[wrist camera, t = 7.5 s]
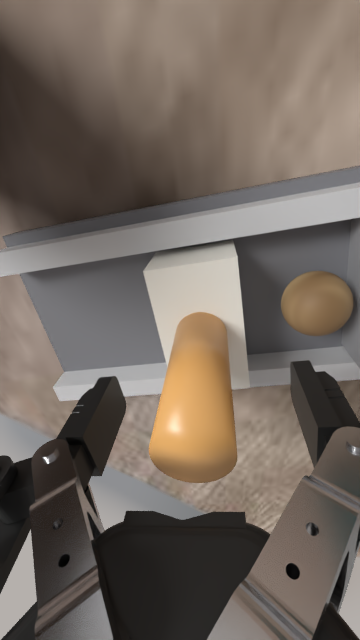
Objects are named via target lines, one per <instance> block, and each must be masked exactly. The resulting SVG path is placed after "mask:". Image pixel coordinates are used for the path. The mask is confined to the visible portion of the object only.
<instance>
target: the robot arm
mask: <svg viewBox="0 0 360 640" xmlns="http://www.w3.org/2000/svg"><path fill="white" fill-rule="evenodd" d="M290 379H291V396H292V401H293V405H294V408H295V411H296V414H297V417H298V420H299V423H300V426H301V429H302V432H303V435H304V438H305V441H306V444H307V447H308V450H309V453H310V456H311V459H312V462H313V466H314V470H313V472H312V473H311V475H310V476H309V477H308V476H304V477H303V478H302V480H301V481H300V483H299V485H298V486H297V488H296V490H295V492H294V494H293V495H292V497H291V499H290V501H289V503H288V504H287V506H286V508H285V510H284V512H283V513H282V515H281V517H280V519H279V521H278V522H277V524H276V526H275V528H274V530H273V531H272V533H271V535H270V534H269V533H268V532H266V531H264V530H263V529H261V528H259V527H257V526H255V525H252V524H249V523H246V518H245V512H211V513H208V514H204V515H201V516H197V517H193V518H190V519H186V520H179V519H176V518H173V517H170V516H167V515H164V514H161V513H157V512H154V511H126V515H125V518H124V522H121V523H118V524H116V525H114V526H112V527H110V528H108V529H107V530H104V528H103V525H102V522H101V519H100V516H99V513H98V510H97V506H96V503H95V500H94V497H93V494H92V491H91V487H90V485H89V480H90V478H91V476H102V473H103V471H104V468H105V465H106V463H107V460H108V457H109V455H110V452H111V449H112V447H113V444H114V441H115V439H116V436H117V433H118V431H119V428H120V425H121V423H122V420H123V417H124V415H125V411H126V401H125V398H124V395H123V392H122V390H121V387H120V384H119V381H118V379H117V377H116V376H109V377H100V378H99V379H98V380H97V382H96V384H95V386H94V387H93V388H92V389H89V390H88V391H87V392H86V393H85V394H84V395H82V396H81V398H80V400H79V401H78V403H77V405H76V407H75V408H74V410H73V411H72V414H71V415H70V416H69V418H68V420H67V421H66V423H65V425H64V427H63V428H62V430H61V432H60V433H59V435H58V437H57V438H56V439H54V440H51V441H49V442H47V443H46V444H44V445H42V446H41V447H40V448H39V449H38V450H37V451H36V452H35V454H34V455H33V457H32V458H29V459H26V460H23V461H19V462H16V463H13V461H12V460H11V458H10V457H9V456H0V593H1V591H2V589H3V587H4V585H5V583H6V580H7V578H8V576H9V574H10V572H11V570H12V567H13V565H14V563H15V561H16V559H17V557H18V555H19V553H20V551H21V548H22V546H23V544H24V542H25V540H26V538H27V535H28V533H29V531H30V529H31V533H32V546H33V558H34V569H35V583H36V595H37V602H36V603H35V604H34V605H33V606H32V607H31V608H30V609H29V610H28V611H27V612H26V613H25V615H24V616H23V617H22V618H21V619H20V620H19V621H18V622H17V623H16V624H15V626H13V627H12V629H11V630H10V631H9V632H8V633H7V634H6V635H5V636H4V637H3V638H2V639H1V640H360V639H359V638H358V637H357V636H356V635H355V633H354V632H353V631H352V630H351V629H350V627H349V626H348V625H347V623H346V622H345V621H344V620H343V619H342V617H341V616H340V615H339V611H340V608H341V605H342V602H343V599H344V596H345V593H346V590H347V587H348V583H349V580H350V577H351V573H352V569H353V565H354V561H355V558H356V555H357V552H358V549H359V546H360V422H359V421H358V419H357V417H356V415H355V414H354V412H353V410H352V408H351V407H350V405H349V403H348V401H347V399H346V398H345V396H344V394H343V392H342V391H341V390H340V387H339V385H338V384H337V382H336V380H335V379H334V378H333V377H332V376H330V375H329V374H328V373H327V372H325V371H320V372H315V370H314V368H313V366H312V364H311V362H310V361H309V360H305V361H293V362H291V363H290Z"/></svg>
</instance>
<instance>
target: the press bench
mask: <svg viewBox="0 0 360 640" xmlns="http://www.w3.org/2000/svg"><path fill="white" fill-rule="evenodd" d="M3 239H4V241H5V243H6V246H7V248H5V249H2V250H0V277H2V276H8V275H14V274H20V276H21V278H22V281H23V283H24V285H25V287H26V289H27V291H28V294H29V296H30V298H31V300H32V302H33V305H34V307H35V309H36V311H37V313H38V315H39V318H40V320H41V322H42V324H43V326H44V329H45V331H46V333H47V335H48V337H49V339H50V342H51V344H52V346H53V348H54V350H55V353H56V355H57V357H58V359H59V361H60V363H61V366H62V368H63V370H64V373H63V374H62V376H61V377H60V378H59V380H58V381H57V382H56V384H55V385H54V386H53V388H54V390H55V392H56V394H57V396H58V398H59V400H60V401H68V400H80V398H81V396H82V395H84V394H85V393H86V392H87V391H88V390H89V389H92V388H93V387H94V386H95V384H96V382H97V380H98V379H99V378H100V377H109V376H116V377H117V379H118V381H119V384H120V387H121V390H122V392H123V395H124V396H137V395H151V394H161V393H162V389H163V385H164V380H165V376H166V372H167V364H166V360H165V356H164V352H163V348H162V344H161V340H160V336H159V332H158V329H157V325H156V321H155V317H154V313H153V309H152V305H151V301H150V297H149V293H148V289H147V285H146V281H145V277H144V273H143V271H144V269H145V268H146V266H147V265H148V263H149V262H150V261H151V259H152V258H153V256H154V255H155V253H156V252H161V251H167V250H173V249H179V248H185V247H191V246H197V245H204V244H210V243H216V242H222V241H228V240H233V242H234V246H235V250H236V253H237V257H238V267H239V278H240V288H241V298H242V309H243V319H244V329H245V340H246V350H247V361H248V371H249V381H250V387H262V386H276V385H290V384H291V379H290V363H291V362H293V361H305V360H309V361H310V362H311V364H312V366H313V368H314V370H315V372H320V371H325V372H327V373H328V374H329V375H330V376H332V377H333V378H334V379H335V380H336V381H345V380H359V379H360V166H355V167H350V168H345V169H340V170H335V171H330V172H325V173H319V174H314V175H309V176H304V177H299V178H294V179H289V180H283V181H278V182H273V183H268V184H263V185H258V186H253V187H247V188H242V189H237V190H232V191H227V192H222V193H216V194H211V195H206V196H201V197H196V198H191V199H186V200H180V201H175V202H170V203H165V204H160V205H155V206H150V207H144V208H139V209H134V210H129V211H124V212H119V213H114V214H108V215H103V216H98V217H93V218H88V219H83V220H78V221H72V222H67V223H62V224H57V225H52V226H47V227H41V228H36V229H31V230H26V231H21V232H16V233H13V234H9V235H6V236H3ZM310 271H326V272H330V273H333V274H335V275H337V276H338V277H340V278H341V279H343V280H344V281H345V282H346V284H347V285H348V286H349V288H350V290H351V292H352V295H353V310H352V313H351V316H350V318H349V319H348V321H347V322H346V323H345V324H344V325H343V326H342V327H341V328H340V329H339V330H337V331H335V332H333V333H331V334H328V335H323V336H309V335H305V334H302V333H300V332H298V331H296V330H294V329H293V328H292V327H291V326H290V325H289V324H288V323H287V321H286V320H285V318H284V316H283V314H282V310H281V299H282V295H283V292H284V290H285V288H286V287H287V285H288V284H289V283H290V282H291V281H292V280H293V279H295V278H296V277H297V276H299V275H301V274H303V273H306V272H310Z"/></svg>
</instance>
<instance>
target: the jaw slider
mask: <svg viewBox="0 0 360 640" xmlns="http://www.w3.org/2000/svg"><path fill="white" fill-rule="evenodd" d="M143 273H144V277H145V281H146V285H147V289H148V293H149V297H150V301H151V305H152V309H153V313H154V317H155V321H156V325H157V329H158V332H159V336H160V340H161V344H162V348H163V352H164V356H165V360H166V364H167V372H166V376H165V380H164V385H163V389H162V393H161V398H160V402H159V406H158V410H157V415H156V419H155V423H154V428H153V432H152V436H151V441H150V445H149V455H150V458H151V460H152V462H153V463H154V465H155V466H156V467H157V468H158V469H159V470H160V471H162V472H163V473H164V474H166V475H168V476H170V477H172V478H174V479H177V480H181V481H185V482H191V483H205V482H211V481H215V480H218V479H220V478H223V477H224V476H226V475H227V474H229V473H230V472H231V471H232V470H233V468H234V467H235V465H236V462H237V447H236V435H235V423H234V411H233V399H232V389H246V388H250V381H249V371H248V361H247V350H246V340H245V329H244V319H243V309H242V298H241V288H240V278H239V267H238V257H237V253H236V250H235V246H234V242H233V240H228V241H222V242H216V243H210V244H204V245H197V246H191V247H185V248H179V249H173V250H167V251H161V252H156V253H155V255H154V256H153V258H152V259H151V261H150V262H149V263H148V265H147V266H146V268H145V269H144V271H143Z"/></svg>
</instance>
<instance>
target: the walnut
mask: <svg viewBox="0 0 360 640" xmlns="http://www.w3.org/2000/svg"><path fill="white" fill-rule="evenodd" d="M281 310H282V314H283V316H284V318H285V320H286V321H287V323H288V324H289V325H290V326H291V327H292V328H293V329H294V330H296V331H298V332H300V333H302V334H305V335H309V336H323V335H328V334H331V333H333V332H335V331H337V330H339V329H340V328H341V327H342V326H343V325H344V324H345V323H346V322H347V321H348V319H349V318H350V316H351V313H352V310H353V295H352V292H351V290H350V288H349V286H348V285H347V284H346V282H345V281H344V280H343V279H341V278H340V277H338V276H337V275H335V274H333V273H330V272H326V271H310V272H306V273H303V274H301V275H299V276H297V277H296V278H295V279H293V280H292V281H291V282H290V283H289V284H288V285H287V287H286V288H285V290H284V292H283V295H282V299H281Z"/></svg>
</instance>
